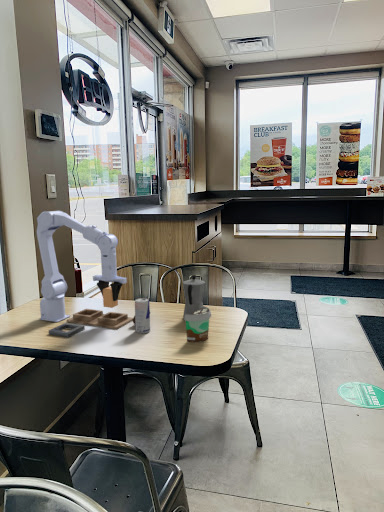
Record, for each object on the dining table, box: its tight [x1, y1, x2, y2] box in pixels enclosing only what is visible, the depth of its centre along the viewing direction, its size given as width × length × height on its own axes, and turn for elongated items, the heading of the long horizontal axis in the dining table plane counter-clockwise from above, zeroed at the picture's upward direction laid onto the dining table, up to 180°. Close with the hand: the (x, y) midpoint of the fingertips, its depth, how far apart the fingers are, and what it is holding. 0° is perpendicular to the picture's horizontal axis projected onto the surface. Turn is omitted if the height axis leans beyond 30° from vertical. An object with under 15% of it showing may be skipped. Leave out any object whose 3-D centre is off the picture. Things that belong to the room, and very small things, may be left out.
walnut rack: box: [66, 308, 134, 330], centre depth 155 cm, size 24×12×3 cm, turn 67°
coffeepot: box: [182, 274, 206, 320], centre depth 155 cm, size 15×9×18 cm, turn 168°
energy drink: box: [134, 297, 151, 334], centre depth 142 cm, size 5×5×12 cm
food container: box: [183, 305, 212, 343], centre depth 134 cm, size 12×6×10 cm, turn 148°
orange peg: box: [102, 286, 119, 309], centre depth 151 cm, size 4×4×7 cm
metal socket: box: [48, 322, 86, 339], centre depth 143 cm, size 9×9×2 cm
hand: (110, 299), depth 151 cm, fingers closed on orange peg, 4 cm apart
